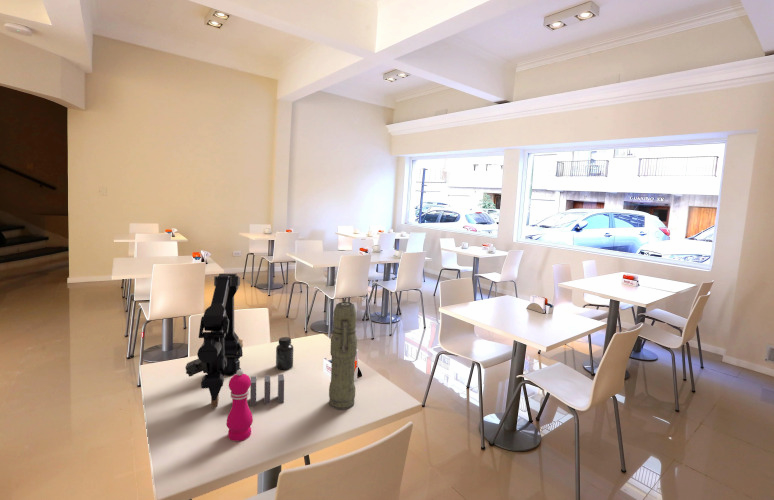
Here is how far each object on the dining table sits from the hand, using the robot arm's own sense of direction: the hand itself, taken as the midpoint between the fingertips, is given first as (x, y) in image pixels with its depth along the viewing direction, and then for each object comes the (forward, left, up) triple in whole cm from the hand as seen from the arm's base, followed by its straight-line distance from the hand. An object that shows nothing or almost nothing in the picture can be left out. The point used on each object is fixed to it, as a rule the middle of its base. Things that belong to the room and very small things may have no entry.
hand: (215, 396), depth 135 cm
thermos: (+39, +14, -4) cm, 42 cm away
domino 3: (+14, +8, -3) cm, 17 cm away
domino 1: (0, 0, -2) cm, 2 cm away
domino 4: (+18, +10, -3) cm, 21 cm away
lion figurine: (-19, +33, -4) cm, 38 cm away
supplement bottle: (+7, +35, -4) cm, 36 cm away
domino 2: (+10, +6, -3) cm, 12 cm away
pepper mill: (+17, -13, -4) cm, 21 cm away
